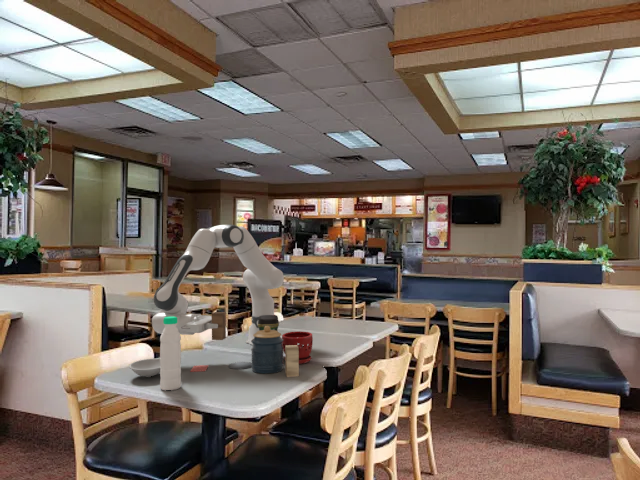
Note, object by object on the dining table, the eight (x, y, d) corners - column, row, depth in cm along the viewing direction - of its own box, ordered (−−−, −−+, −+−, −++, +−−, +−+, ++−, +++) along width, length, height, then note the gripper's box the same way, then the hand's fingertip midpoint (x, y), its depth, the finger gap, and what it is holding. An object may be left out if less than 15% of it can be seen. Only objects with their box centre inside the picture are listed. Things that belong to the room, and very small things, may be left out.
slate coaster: (233, 362, 205) (233, 361, 205) (255, 363, 203) (255, 362, 203) (225, 368, 195) (225, 367, 195) (248, 369, 193) (248, 368, 193)
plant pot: (282, 358, 212) (282, 331, 212) (311, 357, 213) (311, 330, 213) (281, 366, 199) (281, 337, 199) (313, 365, 200) (313, 336, 200)
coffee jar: (278, 353, 222) (278, 313, 222) (280, 357, 214) (279, 316, 214) (257, 354, 220) (257, 314, 220) (258, 358, 212) (257, 316, 212)
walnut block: (215, 337, 204) (215, 312, 204) (225, 337, 204) (225, 312, 204) (211, 339, 200) (211, 313, 200) (222, 340, 199) (221, 313, 199)
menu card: (194, 367, 200) (194, 365, 200) (208, 367, 200) (208, 365, 200) (190, 373, 191) (190, 371, 191) (205, 372, 191) (205, 370, 191)
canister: (250, 366, 198) (249, 323, 198) (281, 364, 201) (281, 322, 201) (252, 375, 185) (252, 329, 185) (285, 372, 188) (285, 327, 188)
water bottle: (164, 385, 172) (164, 315, 173) (183, 385, 172) (183, 315, 172) (157, 391, 165) (156, 318, 166) (177, 391, 165) (177, 318, 165)
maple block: (285, 373, 186) (285, 345, 187) (296, 373, 187) (296, 344, 188) (287, 376, 182) (286, 347, 182) (298, 376, 183) (298, 347, 183)
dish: (132, 372, 191) (132, 359, 191) (170, 369, 194) (170, 357, 194) (125, 384, 173) (125, 370, 174) (167, 381, 177) (167, 368, 177)
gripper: (178, 320, 194) (211, 321, 192) (198, 313, 214) (228, 313, 212) (179, 336, 193) (211, 337, 192) (199, 327, 214) (228, 327, 212)
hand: (220, 324), depth 202 cm, fingers closed on walnut block, 4 cm apart
